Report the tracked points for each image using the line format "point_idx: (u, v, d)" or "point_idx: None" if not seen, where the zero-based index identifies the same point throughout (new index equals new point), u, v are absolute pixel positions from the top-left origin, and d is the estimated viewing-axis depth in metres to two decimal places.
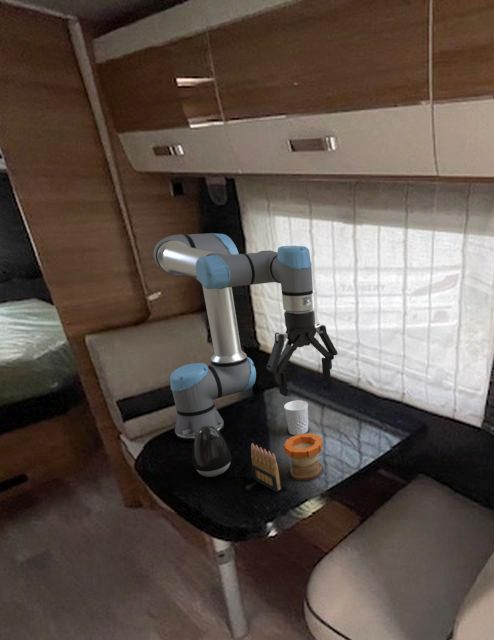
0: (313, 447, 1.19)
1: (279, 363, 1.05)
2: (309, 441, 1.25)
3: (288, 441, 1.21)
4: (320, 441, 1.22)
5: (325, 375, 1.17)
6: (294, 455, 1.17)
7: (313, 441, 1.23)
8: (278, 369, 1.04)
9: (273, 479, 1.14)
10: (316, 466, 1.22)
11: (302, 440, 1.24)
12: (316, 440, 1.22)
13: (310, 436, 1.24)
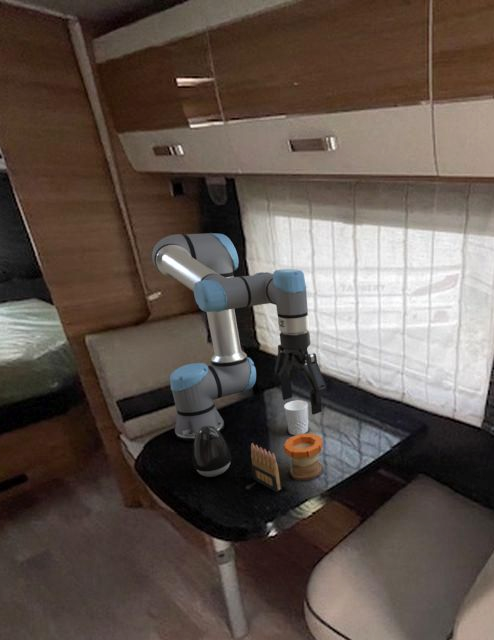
0: (313, 447, 1.19)
1: None
2: (309, 441, 1.25)
3: (288, 441, 1.21)
4: (320, 441, 1.22)
5: None
6: (294, 455, 1.17)
7: (313, 441, 1.23)
8: None
9: (273, 479, 1.14)
10: (316, 466, 1.22)
11: (302, 440, 1.24)
12: (316, 440, 1.22)
13: (310, 436, 1.24)
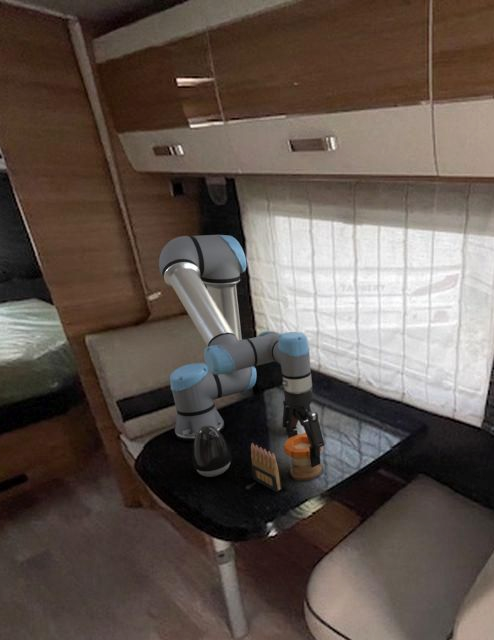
0: None
1: None
2: None
3: (288, 441, 1.21)
4: None
5: None
6: (294, 455, 1.17)
7: None
8: None
9: (273, 479, 1.14)
10: (316, 466, 1.22)
11: (302, 440, 1.24)
12: None
13: None
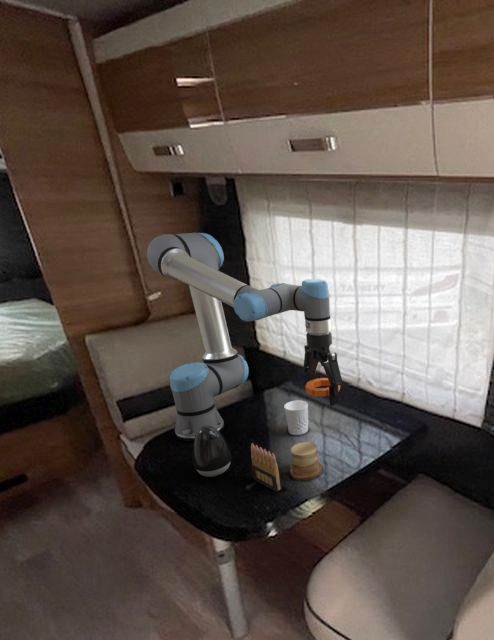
0: None
1: None
2: (327, 384, 1.36)
3: (308, 383, 1.33)
4: None
5: None
6: (315, 393, 1.28)
7: None
8: None
9: (273, 479, 1.14)
10: (316, 466, 1.22)
11: (321, 383, 1.36)
12: None
13: None
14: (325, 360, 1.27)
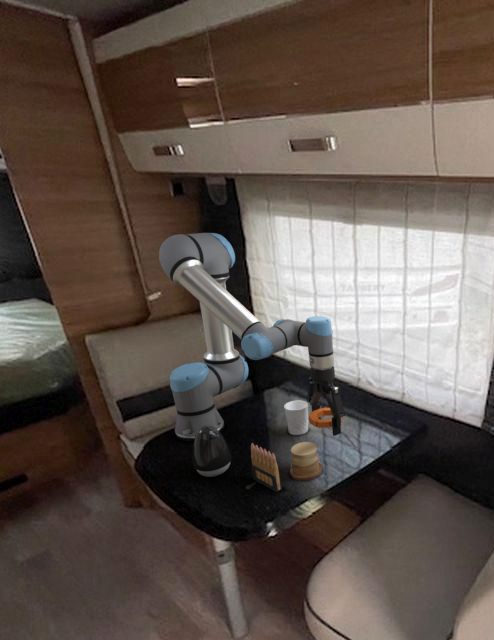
0: None
1: None
2: (330, 414, 1.41)
3: (312, 414, 1.38)
4: None
5: None
6: (318, 425, 1.33)
7: None
8: None
9: (273, 479, 1.14)
10: (316, 466, 1.22)
11: (324, 413, 1.41)
12: None
13: None
14: (328, 393, 1.32)
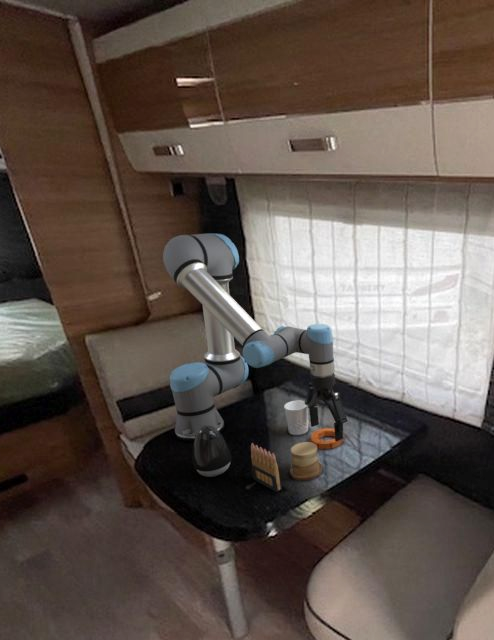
0: None
1: None
2: (331, 434, 1.44)
3: (313, 435, 1.41)
4: None
5: None
6: (320, 446, 1.36)
7: None
8: None
9: (273, 479, 1.14)
10: (316, 466, 1.22)
11: (325, 434, 1.44)
12: None
13: (332, 430, 1.44)
14: (329, 399, 1.33)
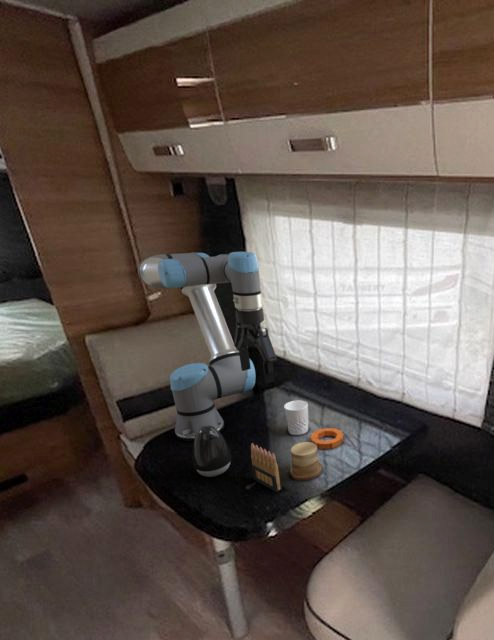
0: (336, 439, 1.38)
1: None
2: (331, 434, 1.44)
3: (313, 435, 1.41)
4: (341, 434, 1.41)
5: None
6: (320, 446, 1.36)
7: (335, 434, 1.43)
8: None
9: (273, 479, 1.14)
10: (316, 466, 1.22)
11: (325, 434, 1.44)
12: (337, 433, 1.42)
13: (332, 430, 1.44)
14: (257, 337, 1.22)
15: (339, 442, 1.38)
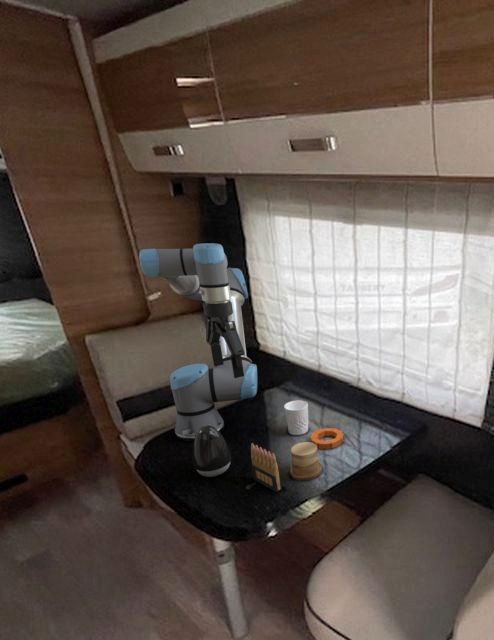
0: (336, 439, 1.38)
1: None
2: (331, 434, 1.44)
3: (313, 435, 1.41)
4: (341, 434, 1.41)
5: None
6: (320, 446, 1.36)
7: (335, 434, 1.43)
8: None
9: (273, 479, 1.14)
10: (316, 466, 1.22)
11: (325, 434, 1.44)
12: (337, 433, 1.42)
13: (332, 430, 1.44)
14: (225, 330, 1.19)
15: (339, 442, 1.38)
